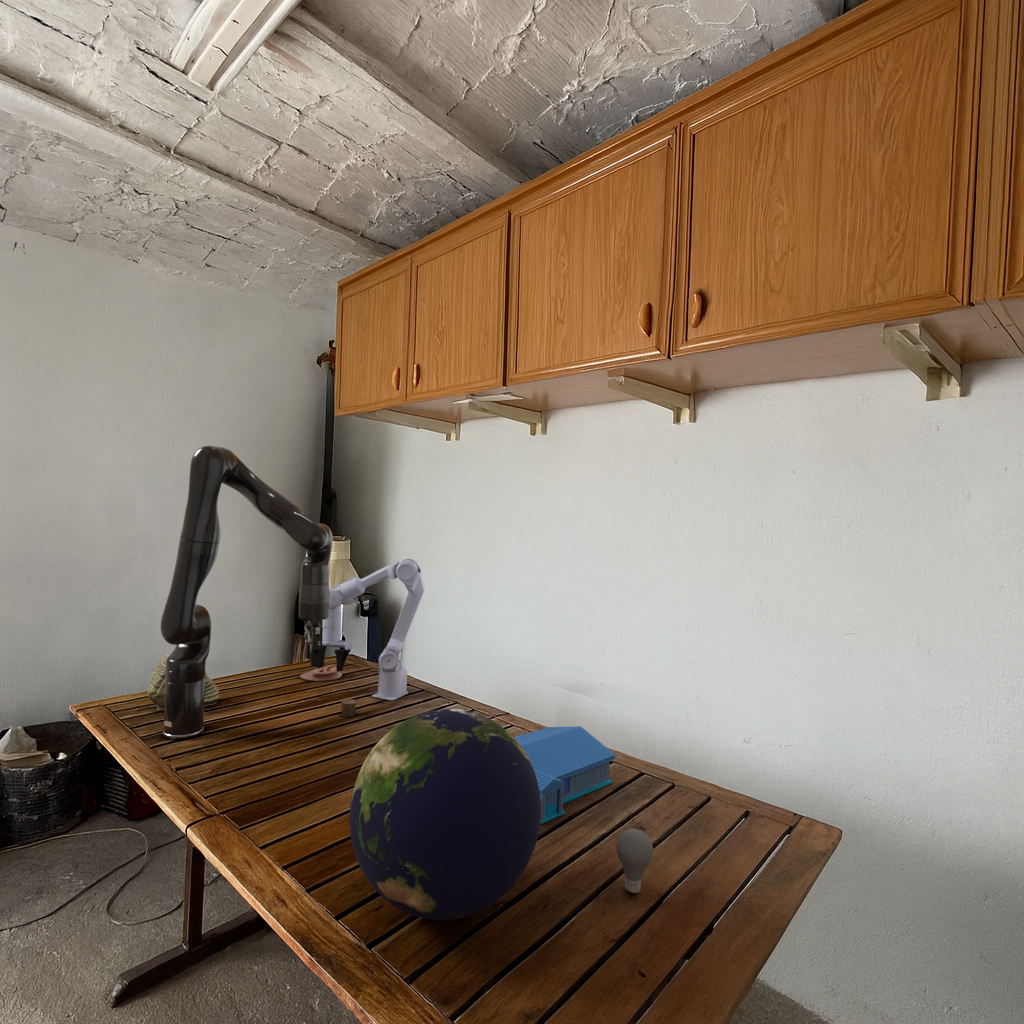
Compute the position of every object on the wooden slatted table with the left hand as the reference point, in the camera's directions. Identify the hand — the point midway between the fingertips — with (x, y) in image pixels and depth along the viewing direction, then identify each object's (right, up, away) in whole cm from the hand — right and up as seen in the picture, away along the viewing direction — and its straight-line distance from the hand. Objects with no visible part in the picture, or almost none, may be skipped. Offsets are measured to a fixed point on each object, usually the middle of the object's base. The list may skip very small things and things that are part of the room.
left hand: (312, 662), depth 165 cm
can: (+4, -20, +19) cm, 28 cm away
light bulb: (+72, -24, -59) cm, 96 cm away
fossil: (-44, -18, +20) cm, 52 cm away
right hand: (-6, -11, +37) cm, 39 cm away
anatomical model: (-15, -18, +56) cm, 60 cm away
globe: (+41, -23, -64) cm, 79 cm away
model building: (+55, -23, -25) cm, 64 cm away
